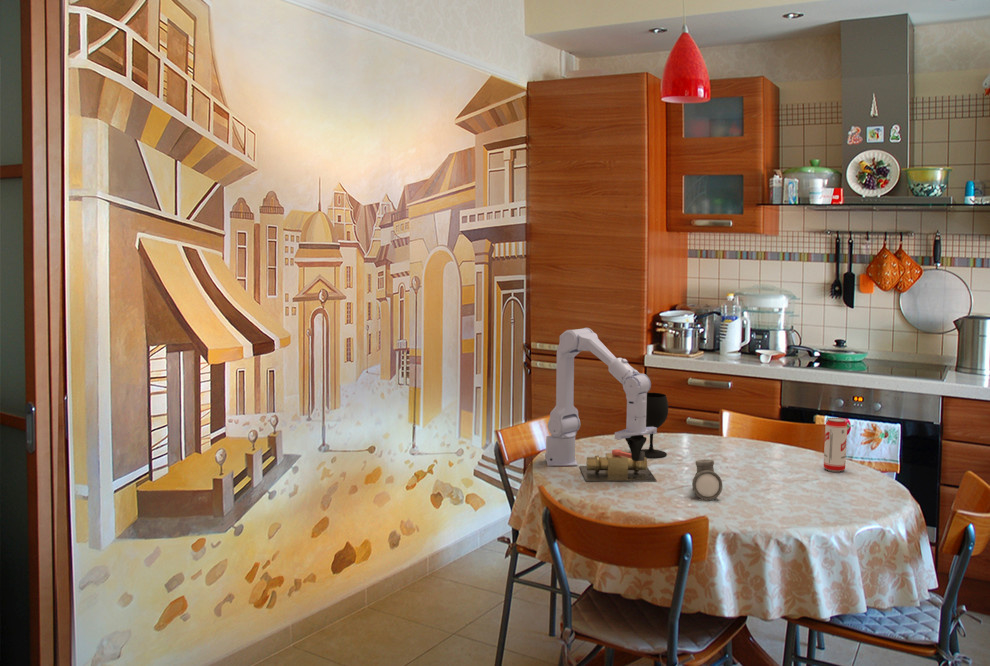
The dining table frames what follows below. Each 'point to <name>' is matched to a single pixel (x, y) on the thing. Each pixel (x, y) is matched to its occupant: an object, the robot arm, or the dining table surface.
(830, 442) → the beer can
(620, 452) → the lever
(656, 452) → the wine glass
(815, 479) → the dining table surface
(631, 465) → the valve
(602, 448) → the dining table surface
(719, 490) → the pipe fitting
